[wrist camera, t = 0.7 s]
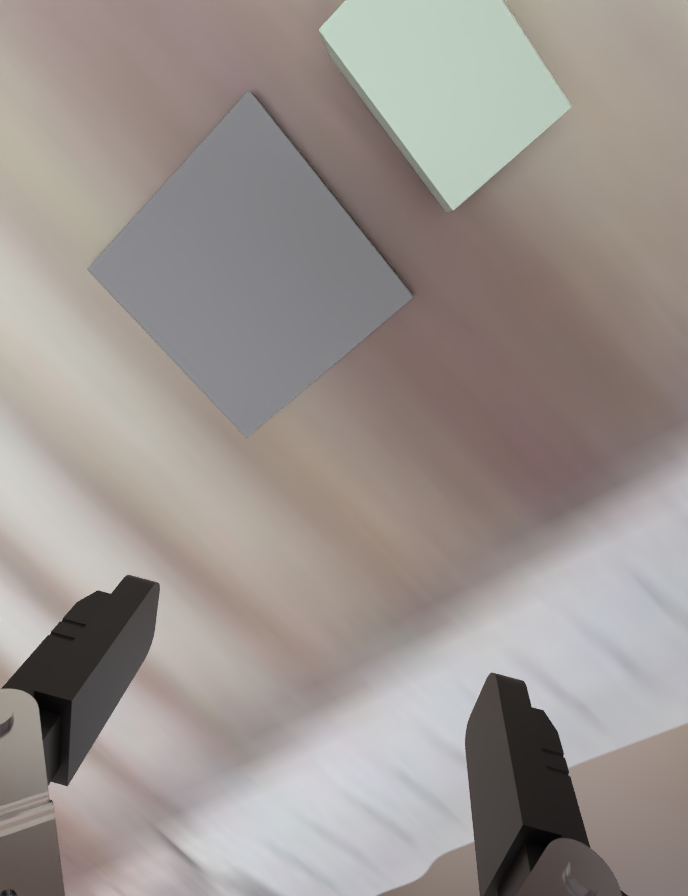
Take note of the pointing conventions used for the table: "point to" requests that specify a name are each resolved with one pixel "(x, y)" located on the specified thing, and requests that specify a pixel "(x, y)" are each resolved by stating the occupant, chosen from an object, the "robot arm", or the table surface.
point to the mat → (249, 270)
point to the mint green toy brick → (446, 85)
